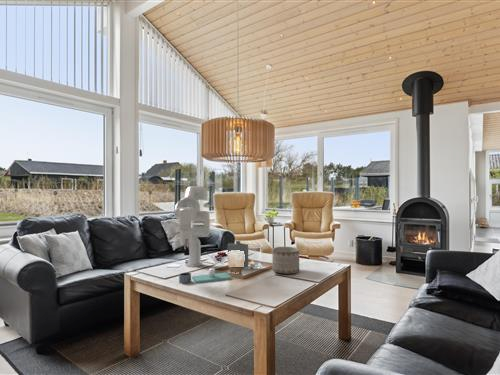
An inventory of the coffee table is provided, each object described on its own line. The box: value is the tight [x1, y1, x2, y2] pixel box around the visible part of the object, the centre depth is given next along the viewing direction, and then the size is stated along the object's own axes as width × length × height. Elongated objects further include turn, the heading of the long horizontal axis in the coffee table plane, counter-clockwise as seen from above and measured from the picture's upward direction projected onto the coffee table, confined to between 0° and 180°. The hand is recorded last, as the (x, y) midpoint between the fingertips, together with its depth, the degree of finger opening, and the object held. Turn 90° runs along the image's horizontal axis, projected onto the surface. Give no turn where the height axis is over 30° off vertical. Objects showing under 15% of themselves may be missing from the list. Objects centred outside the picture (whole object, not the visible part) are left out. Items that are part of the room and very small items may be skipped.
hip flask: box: [227, 240, 249, 268], centre depth 248 cm, size 16×4×20 cm, turn 83°
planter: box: [271, 246, 300, 275], centre depth 233 cm, size 19×19×16 cm
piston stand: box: [191, 267, 233, 284], centre depth 217 cm, size 12×24×6 cm, turn 112°
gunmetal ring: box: [178, 272, 192, 285], centre depth 210 cm, size 7×7×5 cm
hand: (185, 253), depth 210 cm, fingers open, 9 cm apart
